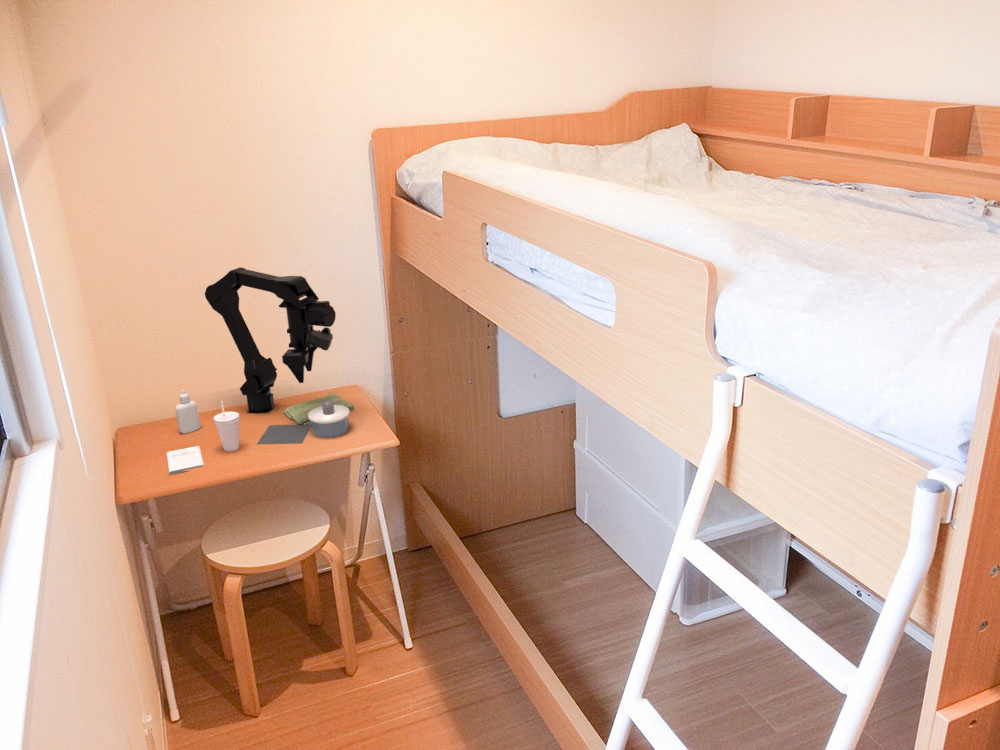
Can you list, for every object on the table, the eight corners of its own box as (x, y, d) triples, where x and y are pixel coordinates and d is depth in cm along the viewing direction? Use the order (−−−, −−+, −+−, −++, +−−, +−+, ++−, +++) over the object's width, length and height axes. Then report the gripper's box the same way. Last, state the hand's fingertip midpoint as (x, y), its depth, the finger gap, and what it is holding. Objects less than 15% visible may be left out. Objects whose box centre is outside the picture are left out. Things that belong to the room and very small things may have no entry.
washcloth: (281, 415, 231) (279, 405, 230) (336, 400, 241) (335, 390, 239) (300, 430, 221) (298, 419, 220) (357, 413, 231) (356, 403, 230)
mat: (256, 446, 211) (256, 444, 211) (269, 427, 222) (269, 425, 222) (301, 445, 211) (301, 443, 211) (312, 426, 222) (312, 424, 222)
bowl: (310, 439, 214) (308, 422, 212) (318, 425, 223) (316, 408, 221) (344, 438, 214) (342, 421, 212) (350, 424, 222) (349, 408, 221)
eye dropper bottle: (179, 428, 223) (172, 388, 219) (201, 425, 225) (194, 386, 220) (179, 434, 219) (171, 394, 215) (200, 431, 221) (193, 391, 216)
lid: (304, 424, 211) (302, 410, 210) (313, 407, 222) (311, 395, 220) (345, 423, 211) (344, 409, 210) (352, 406, 221) (351, 394, 220)
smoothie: (215, 449, 210) (206, 400, 205) (238, 442, 214) (230, 394, 209) (224, 457, 205) (216, 407, 200) (248, 450, 209) (240, 400, 204)
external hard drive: (170, 477, 197) (167, 457, 208) (204, 470, 200) (200, 450, 211) (168, 471, 197) (166, 451, 207) (203, 464, 200) (199, 445, 210)
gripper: (320, 333, 209) (326, 388, 214) (335, 313, 226) (340, 364, 232) (278, 334, 209) (285, 389, 215) (296, 313, 226) (302, 365, 232)
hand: (305, 376), depth 223 cm, fingers open, 9 cm apart
